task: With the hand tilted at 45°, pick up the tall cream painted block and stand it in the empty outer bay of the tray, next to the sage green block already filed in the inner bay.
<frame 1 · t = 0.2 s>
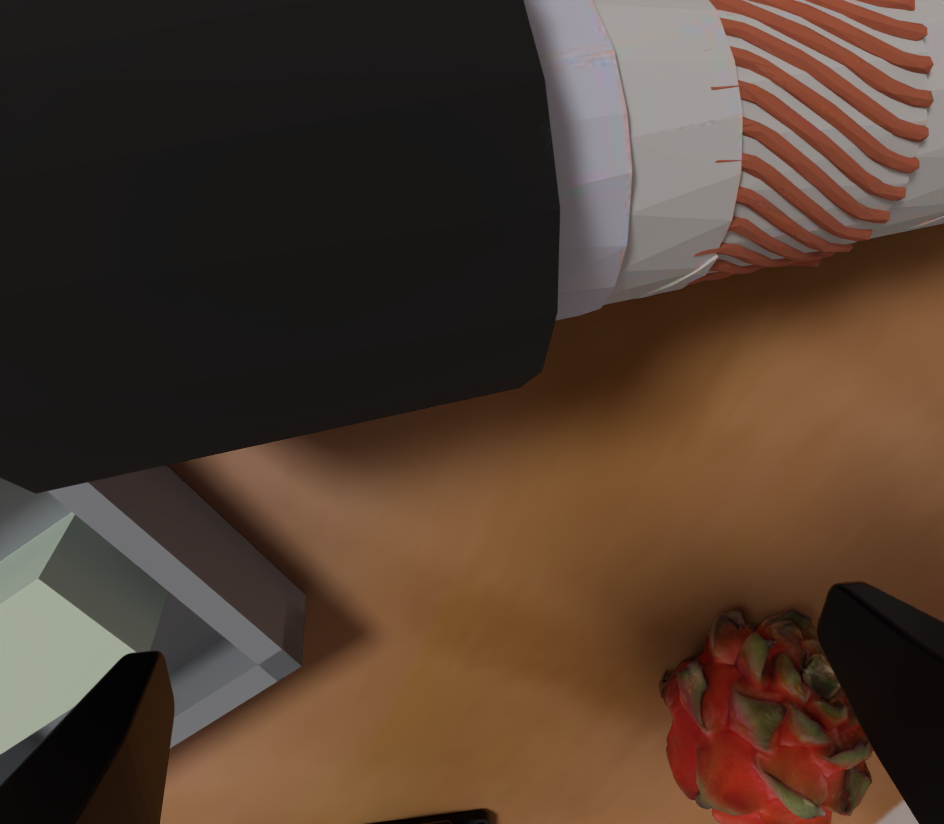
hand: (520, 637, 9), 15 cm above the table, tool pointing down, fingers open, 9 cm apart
dragon fruit: (726, 661, 33), on the table
black and white bottle: (662, 115, 21), on the table
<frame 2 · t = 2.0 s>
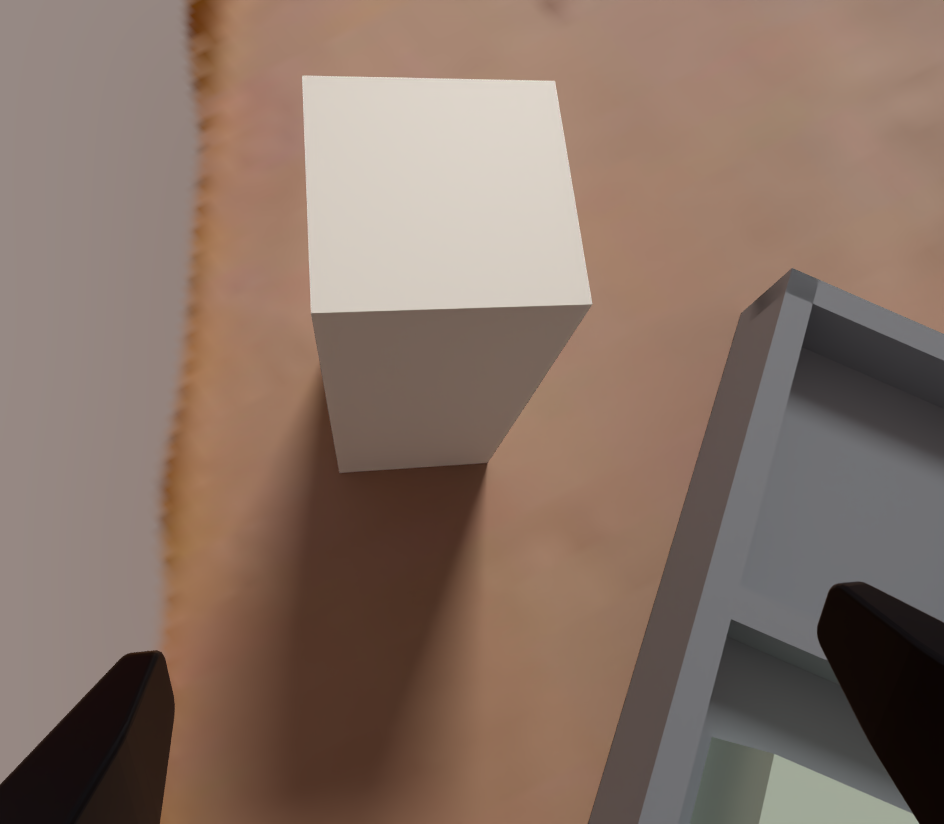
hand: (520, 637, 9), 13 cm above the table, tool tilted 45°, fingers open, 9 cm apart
cream block: (409, 397, 24), on the table
tray: (821, 667, 24), on the table
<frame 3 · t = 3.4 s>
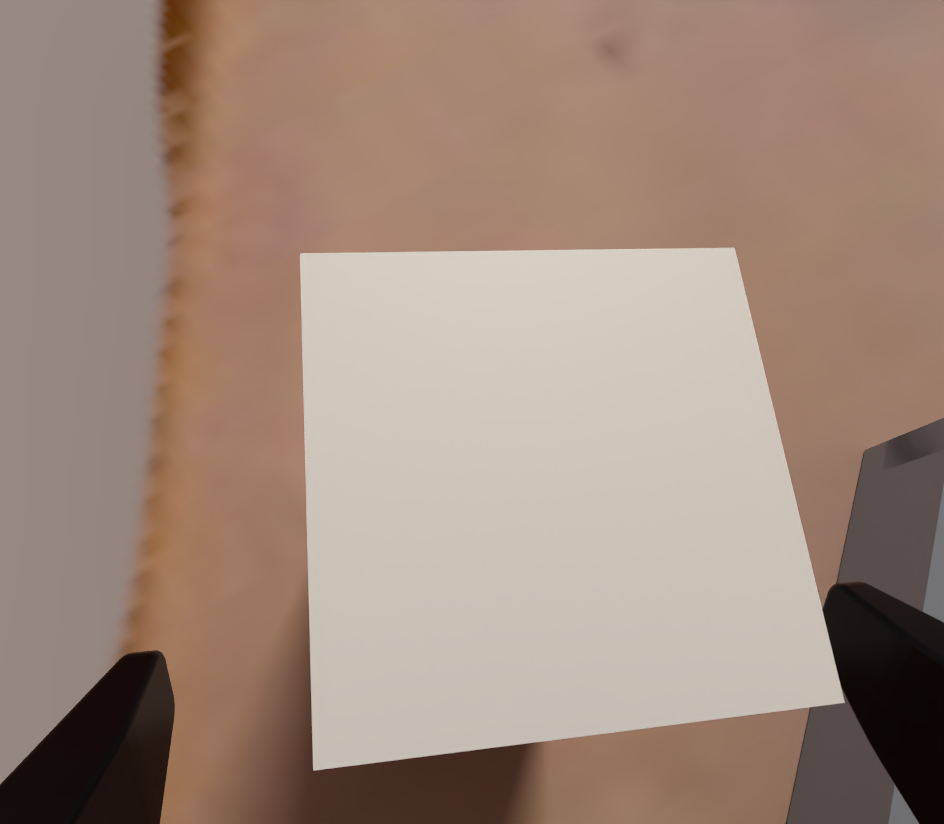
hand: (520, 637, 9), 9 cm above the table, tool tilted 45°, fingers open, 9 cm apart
cream block: (442, 580, 18), on the table
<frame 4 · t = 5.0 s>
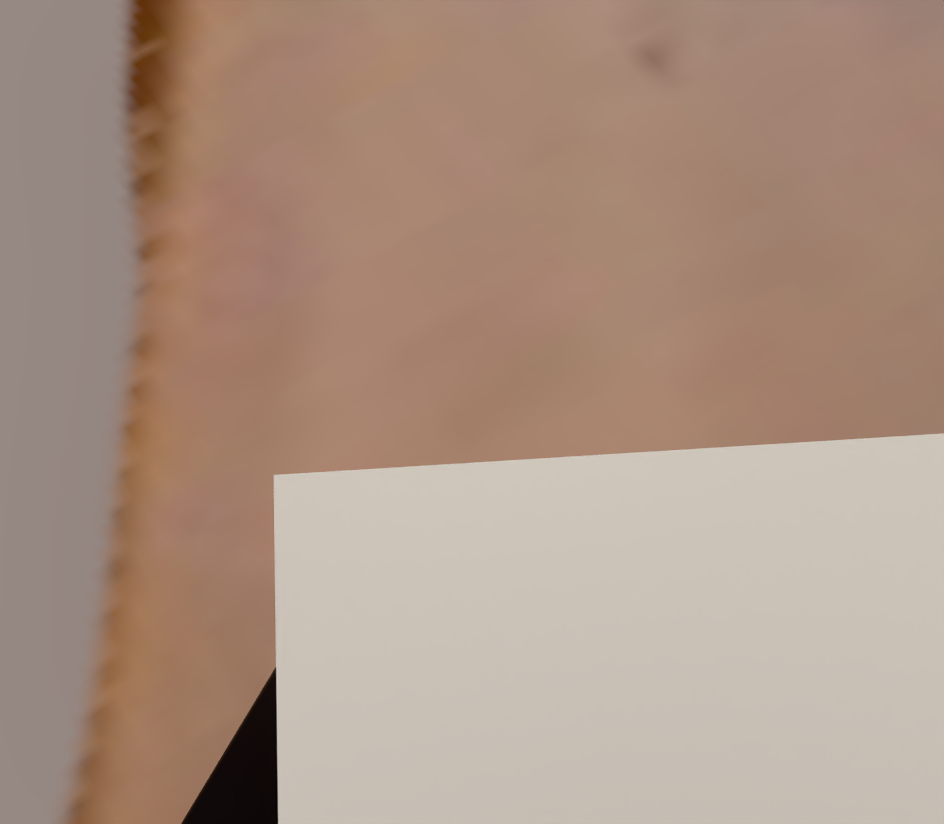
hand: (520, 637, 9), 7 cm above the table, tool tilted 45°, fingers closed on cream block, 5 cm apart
cream block: (465, 708, 15), on the table, touching gripper
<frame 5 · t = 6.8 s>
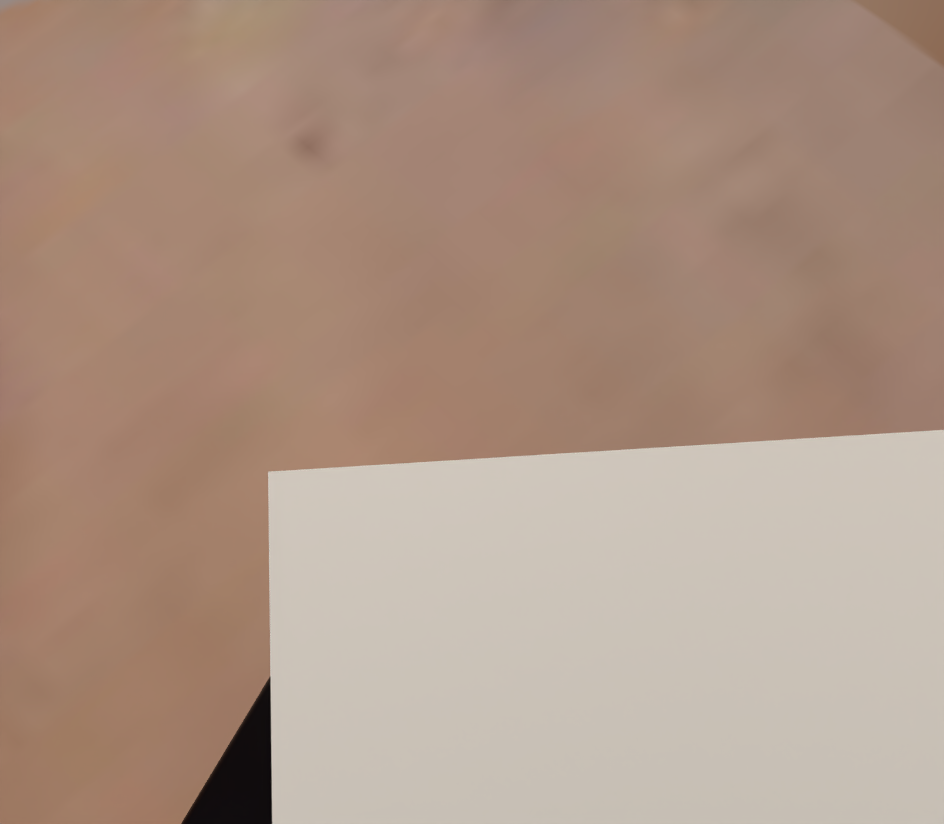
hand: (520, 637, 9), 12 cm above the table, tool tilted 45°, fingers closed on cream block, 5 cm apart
cream block: (464, 707, 15), point 6 cm above the table, touching gripper
when the fingers open (8 cm above the table, at t = 9.0 s): cream block stays where it is, resting on tray.
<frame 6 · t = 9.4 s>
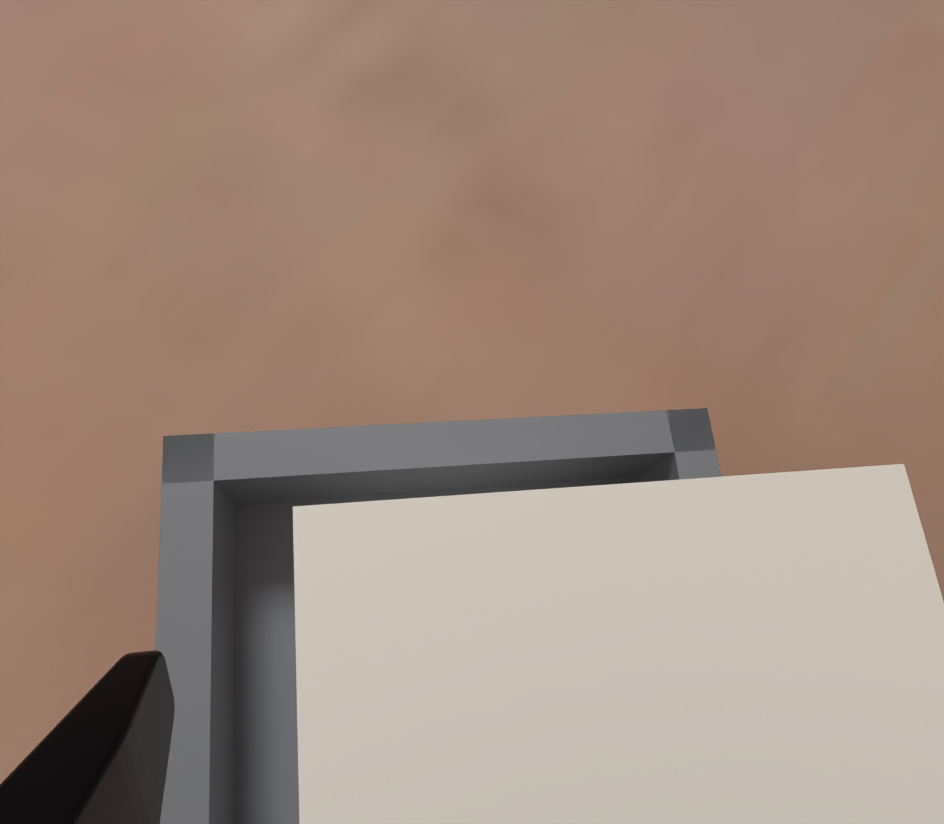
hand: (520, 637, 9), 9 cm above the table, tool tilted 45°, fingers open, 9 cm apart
cream block: (460, 704, 16), point 1 cm above the table, touching tray
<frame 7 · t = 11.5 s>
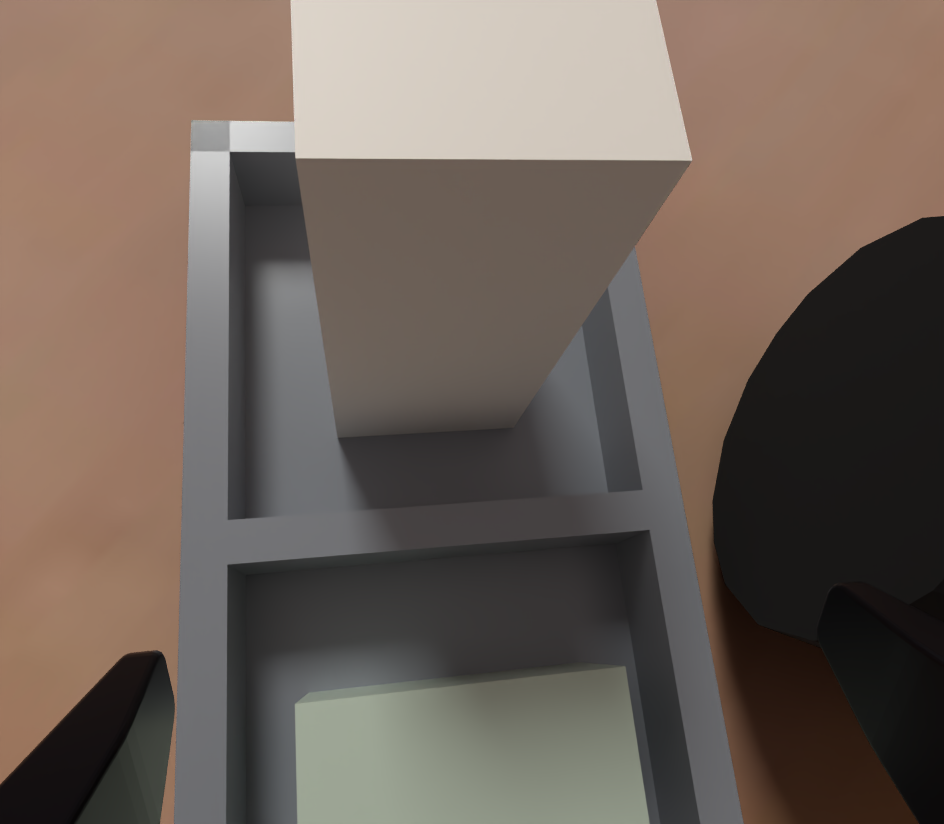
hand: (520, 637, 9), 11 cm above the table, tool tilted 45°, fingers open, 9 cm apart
cream block: (420, 351, 21), point 1 cm above the table, touching tray
tray: (434, 544, 20), on the table
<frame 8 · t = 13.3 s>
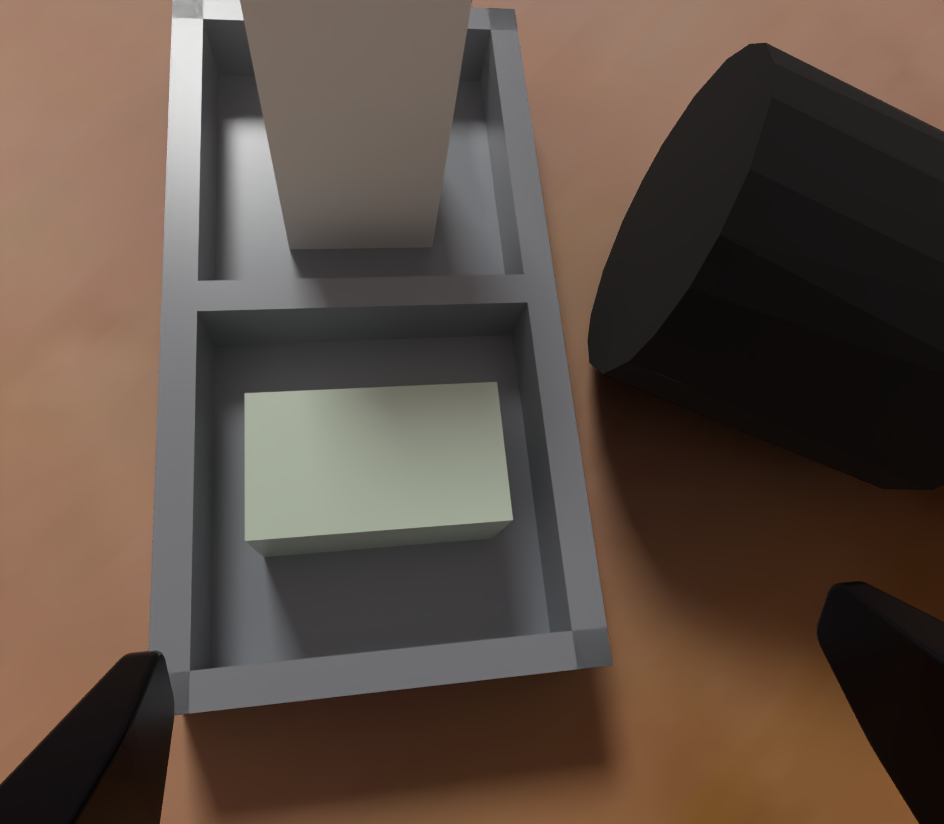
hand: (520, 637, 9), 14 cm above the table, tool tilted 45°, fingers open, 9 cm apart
cream block: (358, 188, 26), point 1 cm above the table, touching tray
tray: (367, 338, 25), on the table
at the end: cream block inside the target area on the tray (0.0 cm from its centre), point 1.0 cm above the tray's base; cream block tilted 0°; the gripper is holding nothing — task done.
